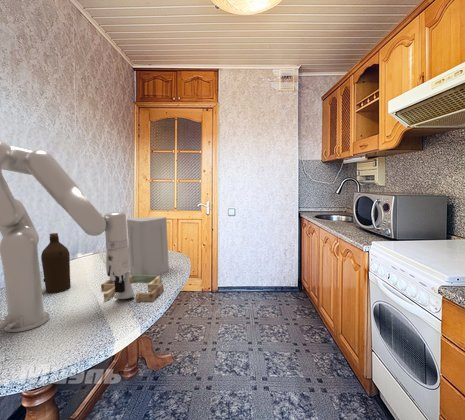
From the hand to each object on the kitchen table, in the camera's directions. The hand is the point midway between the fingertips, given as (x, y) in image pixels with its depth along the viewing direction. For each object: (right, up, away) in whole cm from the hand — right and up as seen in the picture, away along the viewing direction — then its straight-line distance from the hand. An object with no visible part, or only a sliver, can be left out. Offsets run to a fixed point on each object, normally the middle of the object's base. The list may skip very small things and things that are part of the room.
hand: (120, 291), depth 111 cm
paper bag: (+1, -1, +35) cm, 35 cm away
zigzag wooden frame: (+1, -3, +13) cm, 13 cm away
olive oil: (-34, -4, +17) cm, 38 cm away
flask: (+1, -4, +3) cm, 5 cm away
